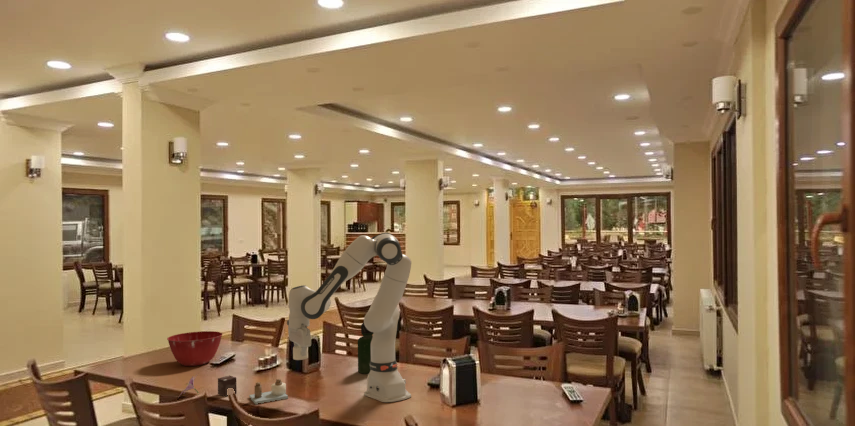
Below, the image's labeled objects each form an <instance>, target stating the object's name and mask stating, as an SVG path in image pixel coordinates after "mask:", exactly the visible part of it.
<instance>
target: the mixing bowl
mask: <svg viewBox="0 0 855 426" xmlns="http://www.w3.org/2000/svg"><path fill="white" fill-rule="evenodd" d="M223 335H224V333H223V332H221V331H211V330H205V331H201V330H200V331H191V332H184V333H177V334H173V335H171V336H169V337H168V336H167V342H168V345H169V348H170V351H171V353H172V356H173V357H174V360H176V361H177V362H178V364H180V365H182V366H183V367H195V366H196V367H197V366H202V365H206V364H208V363H209V362H210V361H212V360H213V359H214V358H215V355H216V353H217V351H218V349H219V346H220V344H221V340H222V336H223Z"/></svg>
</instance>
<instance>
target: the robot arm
mask: <svg viewBox="0 0 855 426" xmlns="http://www.w3.org/2000/svg"><path fill="white" fill-rule="evenodd" d="M377 256H378V258H379V259H380V260H382V261H383V262H385V263H386V269H385V271H384V274H383V276H382V280H381V282H380V285H379V289H378V290H377V292H376V295H375V297H374V298H373V300H372V303H371V304H370V307H369V309H368V311H367V312H366V313H365V315H364V318H363V323H364V325H365V327H366V328H367V329H368V330H369V331H371V332H374V333H373V334H372V336H373V338H372V341H371V360H370V369H371V370H370V373H369V374H367V378H366V391H364V394H363V395H364V397H369V398H371V399H374V400H377V401H379V402H382V403H394V402H399V401H404V400H406V399H407V400H408V399H409V398H411V397H412V394H411V392H409V391H408V390H407V389H406V384H407V383H406V382H407V381H406V378H403V376H402V375H401V373H400V372H399V370H398V362H397V359H396V339H397V338H396V337H397V331H398V322H399V319H400V314H401V313H400V310H399V307H398V305H399V303H400V301H401V300H402V298H403V295H404V293H405V289H406V286H407V284H408V281H409V278H410V274H411V269H412V260H411V258H410V257H409V256H408V255H406V254H403V252H402V247H401V244H400V242H399V240H398V238H397V237H396V236H394V234H392V233H390V232H381V233H379V234H378V235H375V236H374V235H373V237H370V236H368V235H365V234H364V235H359V236H358V237H357V238H355V239H354V240H353V241H352V242H351V243H350V244H349V245H348V246H347V248H346V249H345V250H344V251H343V252H342V254H341V255H340V257H339V258H338V260H337V261H336V263H335V265H334V267H333V269H332V271H331V272H330V273H329V275H328V276H327V277H326V279H325V280H324V281H323V282H322V284H321V285H320V287H318V289H317V290H315V289H312V288H310V287H309V286H308V285H306V284H305V285H304V284H303V285H298V286H295V287H291V289H289V291H288V309H289V314H288V319H287V320H286V326H288V327H287V331H288V332H287V333H288V338H289V339H288V340H289V341H290V342H293V347H295V346H299V345H300V346H301V355H302V356H305V355H306V348H307V347H311V346H312V334H311V331H310V328H309V327H310V326H311V325H310V323H311V321H310V320H316V319H319V318H320V317H322V315H324V314H325V313H326V312H327V311H328V310H329V309H330V307H331V302H332V301H331V297H332V296H333V295H334V294H335V292H336V291H337V290H338V288H340V286H342V285H343V284H344V283H345V282H347V281H348V280H350V279H352V278H353V277H355V276H356V275H358V274H359V272H361V271H362V270H363V269H364V267H365V266H366V265H367V264H368V262H369V261H370V260H371V259H372V258H374V257H377Z"/></svg>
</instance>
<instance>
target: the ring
mask: <svg viewBox="0 0 855 426" xmlns="http://www.w3.org/2000/svg"><path fill="white" fill-rule="evenodd" d="M308 350H309V348H308V347H307V348H306V355H305V356H302V355H301V346H300V345H299V346H295V347H294V346H293V347H292V359H293V360H295V361H302V360H306V359H308V358H309V352H308Z"/></svg>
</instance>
